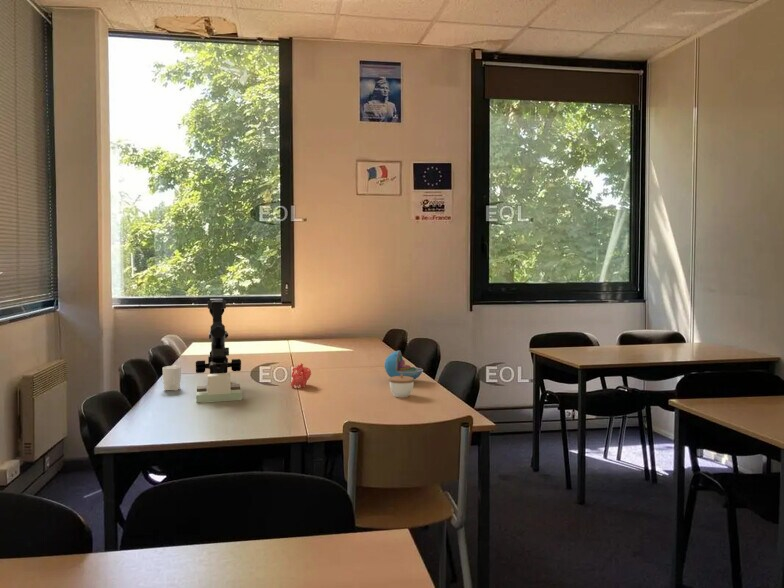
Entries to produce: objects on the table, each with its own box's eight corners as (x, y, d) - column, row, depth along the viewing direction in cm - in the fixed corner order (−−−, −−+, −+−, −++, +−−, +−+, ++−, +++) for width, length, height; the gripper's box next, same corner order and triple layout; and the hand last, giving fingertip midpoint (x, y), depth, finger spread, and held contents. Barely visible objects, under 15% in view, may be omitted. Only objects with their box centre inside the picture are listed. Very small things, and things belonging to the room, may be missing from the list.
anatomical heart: (307, 386, 285) (313, 363, 284) (306, 392, 273) (313, 368, 273) (288, 382, 284) (295, 358, 283) (287, 388, 272) (294, 363, 271)
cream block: (207, 391, 252) (207, 373, 252) (230, 390, 255) (229, 372, 255) (207, 394, 247) (207, 376, 247) (230, 393, 250) (230, 375, 249)
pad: (196, 399, 252) (196, 392, 252) (240, 396, 257) (240, 389, 257) (196, 402, 246) (196, 395, 245) (241, 400, 251) (241, 392, 251)
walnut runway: (197, 392, 264) (197, 385, 263) (239, 390, 269) (239, 383, 269) (196, 399, 252) (196, 392, 252) (240, 396, 257) (240, 389, 257)
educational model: (420, 385, 282) (420, 353, 281) (381, 383, 286) (381, 352, 285) (425, 379, 297) (425, 349, 297) (388, 377, 301) (388, 347, 300)
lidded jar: (385, 394, 264) (385, 373, 263) (408, 392, 268) (408, 371, 267) (394, 399, 254) (394, 377, 253) (417, 397, 258) (417, 376, 257)
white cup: (161, 391, 265) (161, 369, 264) (163, 387, 273) (163, 366, 272) (180, 390, 267) (180, 368, 267) (182, 387, 275) (181, 365, 274)
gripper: (195, 341, 255) (195, 372, 245) (240, 340, 261) (242, 370, 251) (195, 357, 263) (195, 387, 253) (239, 355, 269) (241, 385, 259)
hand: (218, 382), depth 254 cm, fingers closed
